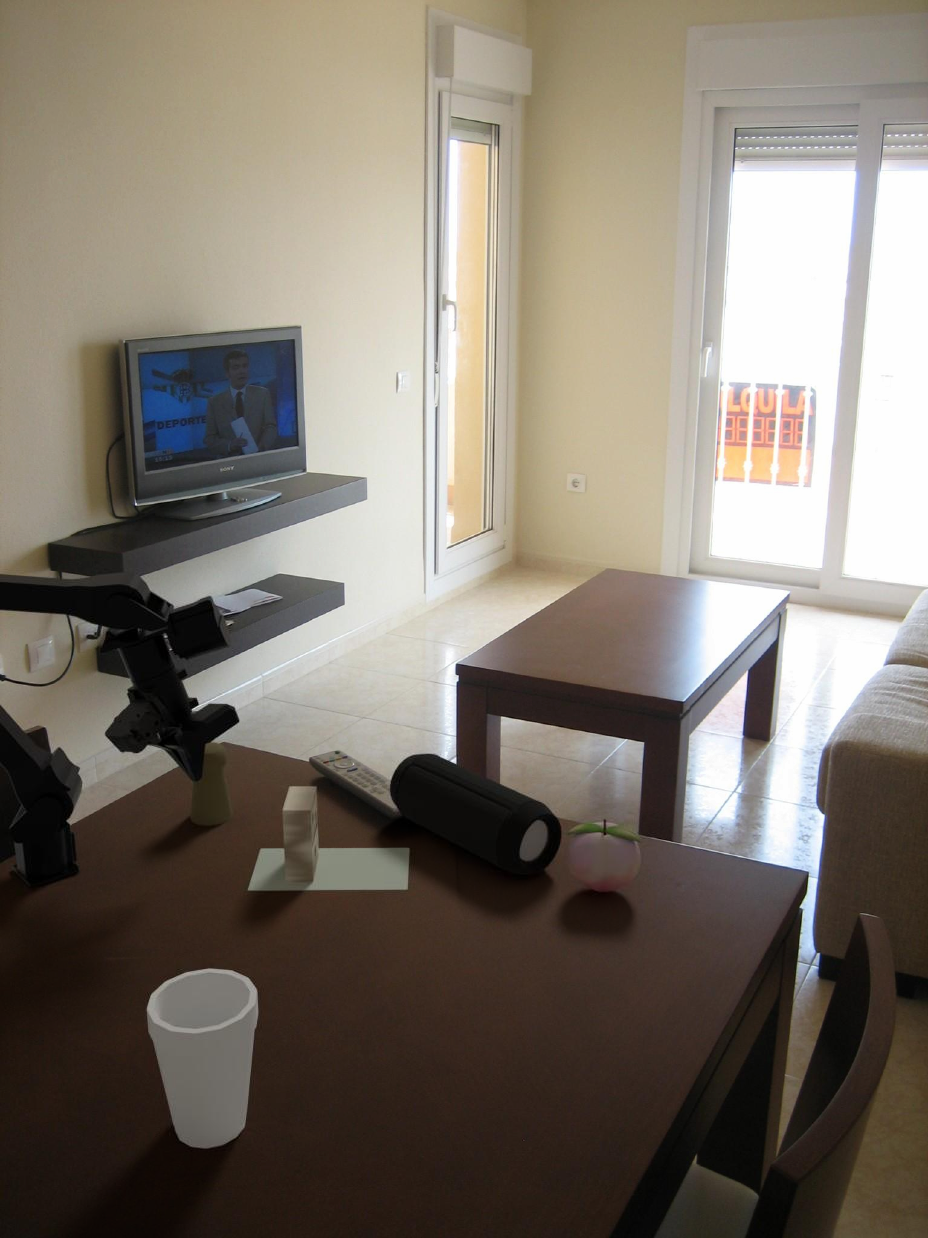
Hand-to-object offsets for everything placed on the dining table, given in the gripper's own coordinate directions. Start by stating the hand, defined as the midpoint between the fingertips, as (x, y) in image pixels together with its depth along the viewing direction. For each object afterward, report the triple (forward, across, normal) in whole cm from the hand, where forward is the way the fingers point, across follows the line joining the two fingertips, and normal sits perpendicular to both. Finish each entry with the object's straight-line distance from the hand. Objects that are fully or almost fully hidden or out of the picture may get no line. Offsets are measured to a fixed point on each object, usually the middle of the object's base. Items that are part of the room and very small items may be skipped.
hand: (197, 780), depth 148 cm
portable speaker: (+22, +22, +22) cm, 38 cm away
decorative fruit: (+26, +42, +21) cm, 53 cm away
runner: (+16, +12, +6) cm, 21 cm away
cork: (+12, -12, +7) cm, 18 cm away
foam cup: (+13, +35, -35) cm, 51 cm away
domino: (+15, +9, +4) cm, 18 cm away
